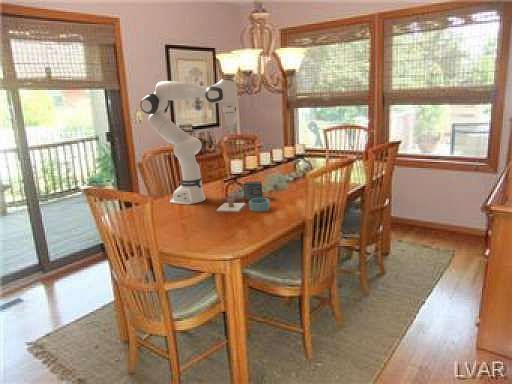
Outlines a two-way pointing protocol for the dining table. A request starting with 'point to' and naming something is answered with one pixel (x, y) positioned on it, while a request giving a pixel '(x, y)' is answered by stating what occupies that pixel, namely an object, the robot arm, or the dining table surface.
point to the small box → (253, 190)
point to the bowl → (259, 204)
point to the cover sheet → (226, 207)
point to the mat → (231, 211)
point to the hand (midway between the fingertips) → (232, 132)
